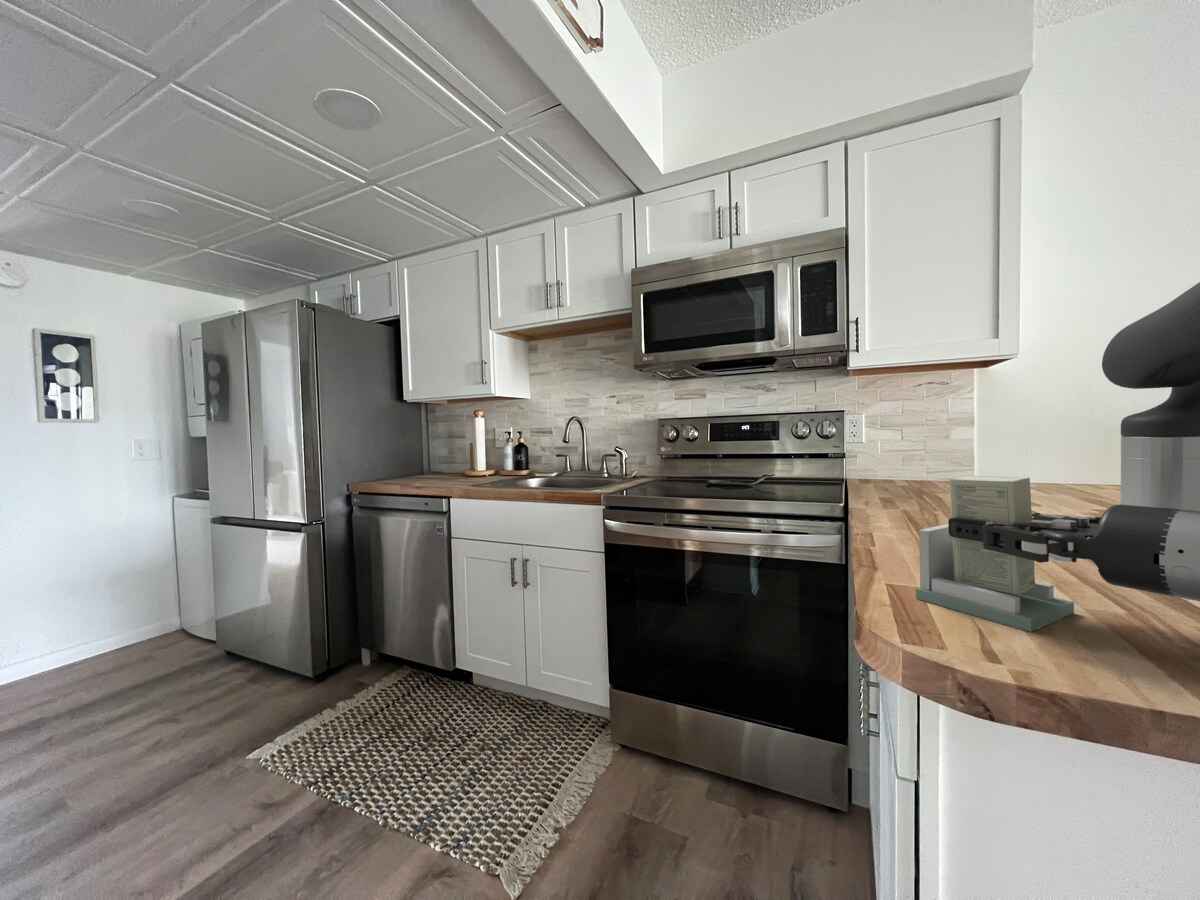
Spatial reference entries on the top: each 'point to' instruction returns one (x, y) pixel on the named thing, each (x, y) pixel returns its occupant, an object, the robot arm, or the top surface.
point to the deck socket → (981, 589)
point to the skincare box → (1000, 504)
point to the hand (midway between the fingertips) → (963, 523)
